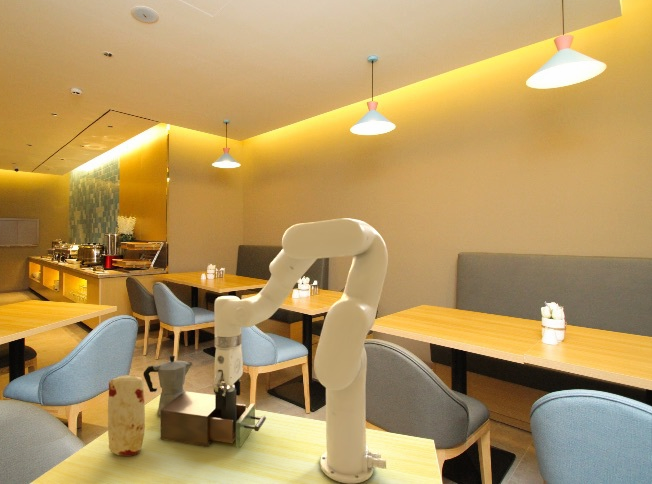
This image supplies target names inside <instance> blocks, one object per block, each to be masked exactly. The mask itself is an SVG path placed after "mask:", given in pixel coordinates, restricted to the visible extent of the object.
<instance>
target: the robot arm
mask: <svg viewBox="0 0 652 484" xmlns="http://www.w3.org/2000/svg"><path fill="white" fill-rule="evenodd" d="M281 247H282V249H281V251H279V253H278V254H277V255H276V256H275V258H273V260H272V261H271V262H270V263H269V267H268V269H269V272H270V277H269V279H268V281H267V283H266V284H265V285H264V286H263V287H262V289H261V290H260V291H259V292H258V293H257V294H256V295H253V296H250V297H246V298H243V299H240V298H239V297H238V296H235V295H222V296H218V297H217V298H215V300H214V309H213V310H214V348H215V353H214V368H213V369H214V371H213V373H214V375H213V376H214V379H213V382H212V389H213V393H214V394H213V395H215V408H216V409H219V410H226V409H227V395H225V394H226V390H227V386H231V385H235V388H236V396H237V397H239V396H240V395H241V379H242V376H243V374H244V360H243V359H244V357H243V348H242V328H251V327H254V326H256V325H258V324H259V323H262V322H265V321H266V320H269V318H271V317H272V316H273V315H274V314H275V313H277V311H278V310H279V308H280V307H281V306H282V305H283V304H284V303H285V302H286V300H287V298H288V297H289V296H290V295H291V293H292V291H293V289H294V287H295V285H296V284H297V283H298V282H299V280H300V279H301V278H302V277H303V276H304V275H305V273H306V272H307V271H308V270H309V269H310V268H311V267H312V265H313V264H314V263H315V262H316V261H317V260H318V259H330V258H339V257H340V258H342V257H351V256H352V257H351V258H352V262H351V266H350V268H349V271H348V274H347V278H346V283H345V286H344V290H343V292H342V295H341V297H340V299H338V300H337V301H335V302H334V303H333V304H332V305H331V306H330V307H329V309H328V311H327V313H326V315H325V318H324V321H323V325H322V328H321V331H320V337H319V340H318V343H317V347H316V350H315V355H314V359H313V370H314V375H315V377H316V379H317V381H318V382H319V383H320V384H321V385H322V386H323V387H324V388H325V433H326V436H325V437H326V438H325V439H326V442H325V443H326V451H324V452H323V453H322V455H321V457H320V462H319V463H320V469H321V471H322V472H323V473H324V474H325V476H327V477H328V478H330V479H331V480H333V481H336V482H339V483H342V484H361V483H363V482H366V481H367V480H369V479H370V478H371V477H372V476H373V473H374V468H378V469H383V470H387V459H386V458H382V454H381V453H378V452H372V451H371V450H369V444H367V415H366V414H367V413H366V412H367V411H366V409H367V407H366V406H367V405H366V404H367V401H366V399H367V397H366V395H367V394H366V391H367V390H366V383H367V367H368V356H367V351H366V348H365V343H366V339H367V336H368V333H370V331H371V330H372V328H373V326H374V324H375V322H376V316H377V311H378V307H379V304H380V299H381V296H382V293H383V288H384V284H385V281H386V280H385V279H386V276H387V271H388V267H389V253H388V248H387V244H386V242H385V240H384V238H383V236H382V235H381V234H380V233H379V232H378V231H377V230H376V229H375V228H374V227H373V226H372V225H370V224H369V223H367V222H366V221H362V220H360V219H354V218H349V217H346V218H345V217H344V218H335V219H328V220H320V221H312V222H303V223H302V222H301V223H296V224H293V225H291V226H290V227H288V228H287V229H286V230H285V232H284V233H283V235H282V239H281ZM222 386H224V387H223V390H222Z"/></svg>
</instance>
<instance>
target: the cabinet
mask: <svg viewBox="0 0 652 484" xmlns="http://www.w3.org/2000/svg"><path fill="white" fill-rule="evenodd" d="M216 410H217V409H216V408H215V394H209V393H200V392H193V391H185V390H184V392H183V393H182V394H180V395H179V396H178V397H177V398H175V399H174V400H173V401H171V402H170V403H169V404H167V405H166V406H165V407H163V408H162V409H161V410H160V415H159V417H160V419H159V420H160V430H159V431H160V440H164V441H171V442H176V443H181V444H182V443H183V444H189V445H195V446H201V447H206V448H208V447H209V446H210V444H212V442H213V441H214V440H209V417H210V416H211V415H212V414H213V413H214V412H215V411H216Z"/></svg>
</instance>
